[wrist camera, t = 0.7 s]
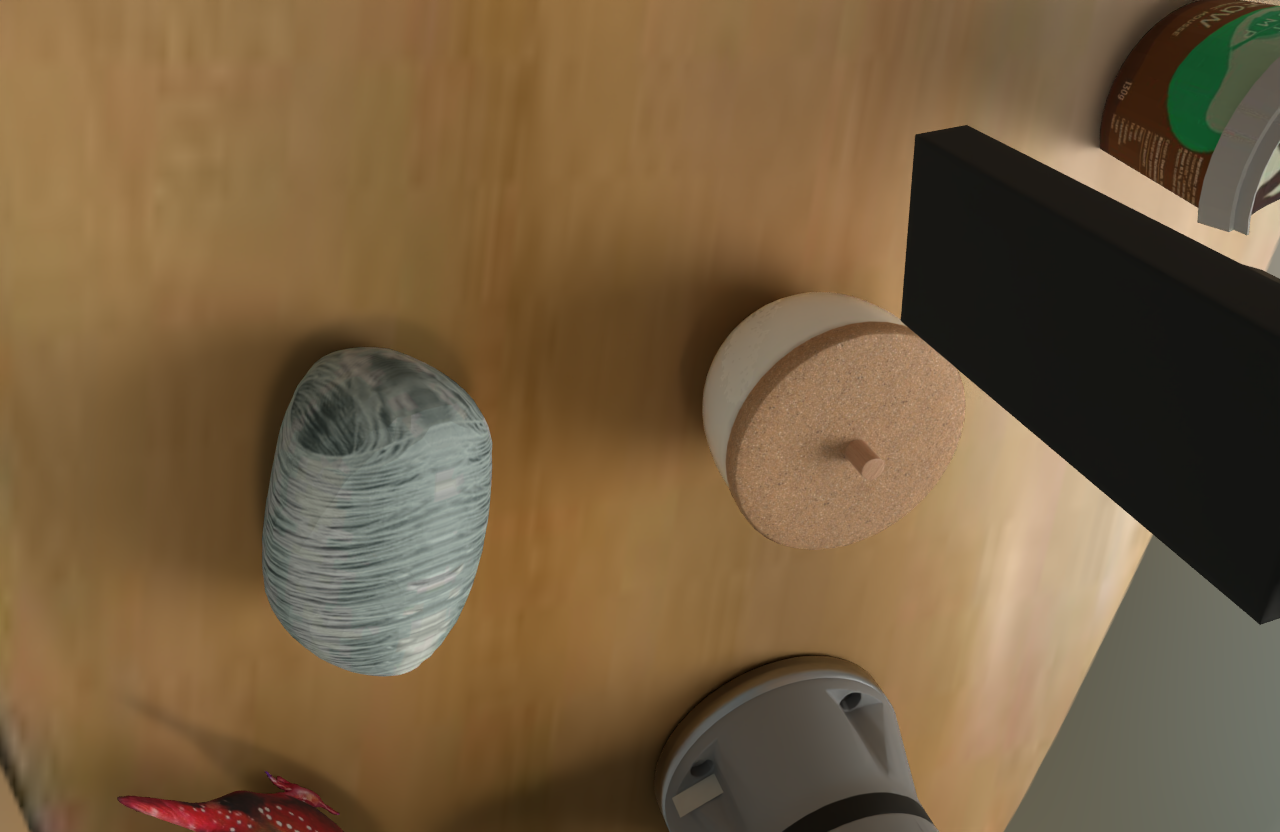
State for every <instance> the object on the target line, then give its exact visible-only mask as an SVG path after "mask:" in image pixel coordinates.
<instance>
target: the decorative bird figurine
mask: <svg viewBox="0 0 1280 832" xmlns="http://www.w3.org/2000/svg"><path fill="white" fill-rule="evenodd" d="M265 773H266V774H267V777H269V779H270V780H271V781H272V783H273V784H274V785H276V786H277V787H278V788H280V789H283V790H284V791H285V792H283V793H281V792H278V793H275V794H264V793H255V792H249V791H235V792H232V793H230V794H227V795H225V796H222V797H220V798H217V799H214V800H211V801H208V802H202V803H188V802H181V801H175V800H164V799H157V798H150V797H137V796H124V797H117V799H118V801H119V802H120V803H122V804H123V805H124V806H126V807H129V808H131V809H134V810H135V811H138V812H142V813H144V814H147V815H150V816H154V817H156V818H159V819H161V820H164V821H168V822H170V823H173V824H176V825H179V826H182V827H185V828H188V829H190V830H193V831H196V832H344V831H343V830H342V829H341V828H340V827H339V826H338V825H337V824H336V823H334V822H333V821H332V820H331V819H329V818H328V817H327V816H326V815H324V814H323V813H322V812H320V811H319V810H318V809H316V808H315V807H322V808H324V809H326V810H327V811H329V812H330V813H332V814H335V815H339V813H338V812H336V811H335V810H333V809H332V808H331V807H329V806H328V805H326V804H324V803H323V801H322V800H321V798H320V796H319V795H318V794H316V793H315V792H313V791H312V790H309V789H306V788H302V787H300V786H299V785H297V784H292V783H290V782H288V781H287V780H285V779H283V778H282V777H280V776H277V780H276V779H275V778H274V777H272V775H270V774H269V772H267V771H265ZM279 781H280V782H279ZM281 782H282V783H281Z"/></svg>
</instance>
